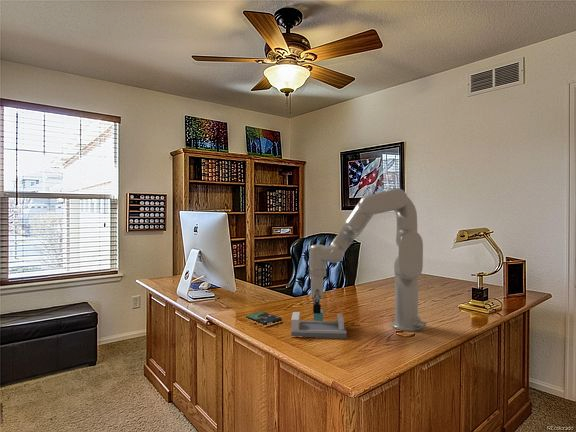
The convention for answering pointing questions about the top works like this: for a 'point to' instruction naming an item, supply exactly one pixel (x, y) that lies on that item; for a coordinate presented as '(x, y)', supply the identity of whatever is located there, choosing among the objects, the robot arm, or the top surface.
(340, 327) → the block
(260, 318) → the disk drive
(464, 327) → the top surface
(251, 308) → the top surface
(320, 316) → the teal block
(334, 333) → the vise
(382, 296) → the top surface
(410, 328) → the robot arm
